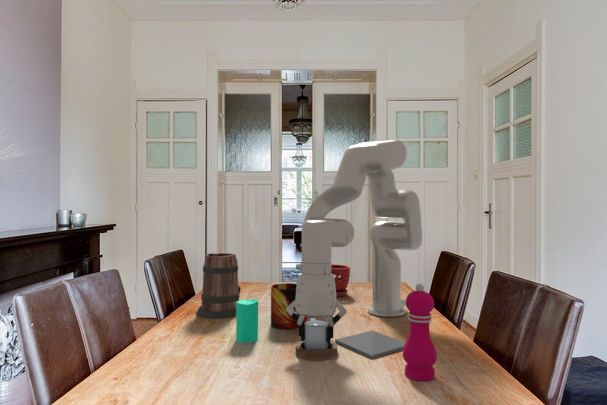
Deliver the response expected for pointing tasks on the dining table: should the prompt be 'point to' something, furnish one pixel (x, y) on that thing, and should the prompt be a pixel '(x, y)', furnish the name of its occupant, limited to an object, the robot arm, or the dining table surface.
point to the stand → (316, 352)
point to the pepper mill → (419, 337)
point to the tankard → (219, 287)
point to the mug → (283, 306)
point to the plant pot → (341, 278)
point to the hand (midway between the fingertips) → (316, 339)
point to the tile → (371, 344)
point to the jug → (315, 335)
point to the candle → (247, 320)
